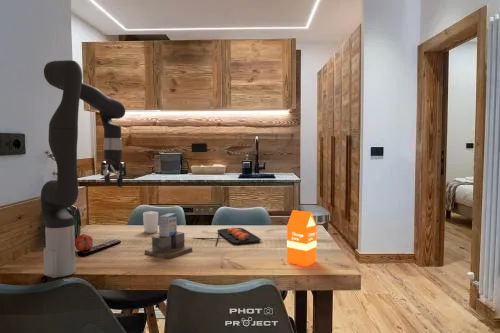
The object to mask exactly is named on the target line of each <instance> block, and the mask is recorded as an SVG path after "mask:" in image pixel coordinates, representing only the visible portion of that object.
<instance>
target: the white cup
mask: <svg viewBox="0 0 500 333" xmlns="http://www.w3.org/2000/svg"><path fill="white" fill-rule="evenodd" d="M142 219H143V230H144V233H146V234H152V233H157V232H158V231H159V211H154V210H153V211H152V210H151V211H144V212H143V213H142Z"/></svg>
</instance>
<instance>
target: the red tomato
mask: <svg viewBox="0 0 500 333" xmlns="http://www.w3.org/2000/svg"><path fill="white" fill-rule="evenodd" d="M93 242H94V241H93V237H92V236H91V235H87V234H84V233H83V234H79V235H78V236H77V237H76V238H75V250H76V251H78V252H84V251H83V250H88V249H90V250H91V249H92V248H93V246H94V244H93ZM88 251H89V250H88Z"/></svg>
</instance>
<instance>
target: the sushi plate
mask: <svg viewBox="0 0 500 333" xmlns="http://www.w3.org/2000/svg"><path fill="white" fill-rule="evenodd" d="M217 233H218V234H217V237H192V239H193V240H194V239H196V240H216V242H215V246H214V247H215V248H216V247H217V246H218V242H219V240H221V239H222V240H224V239H225V240H228V241H229V242H230V243H233V244H249V243H250V244H251V243H256V242H261V238H260V237H259V236H257V235H255V234H253V233H252V232H250V231H249V230H246V229H245V228H242V227H233V226H232V227H229V228H220V229H217ZM220 235H221V236H222V237H219V236H220Z"/></svg>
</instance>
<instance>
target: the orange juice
mask: <svg viewBox="0 0 500 333" xmlns="http://www.w3.org/2000/svg"><path fill="white" fill-rule="evenodd" d="M317 226H318V225H317V224H316V220H315V218H314V215H313V212H311V211H303V210H297V209H296V210H295V209H292V210H291V213H290V216H289V219H288V223H287V225H286V233H287V234H286V238H287V239H286V262H287V263H289V262H290V263H289V264H294V265H299V266H303V267H308V266H310V265H313V264H314V262H315V263H316V262H317V241H318V239H317V229H318V228H317Z"/></svg>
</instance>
